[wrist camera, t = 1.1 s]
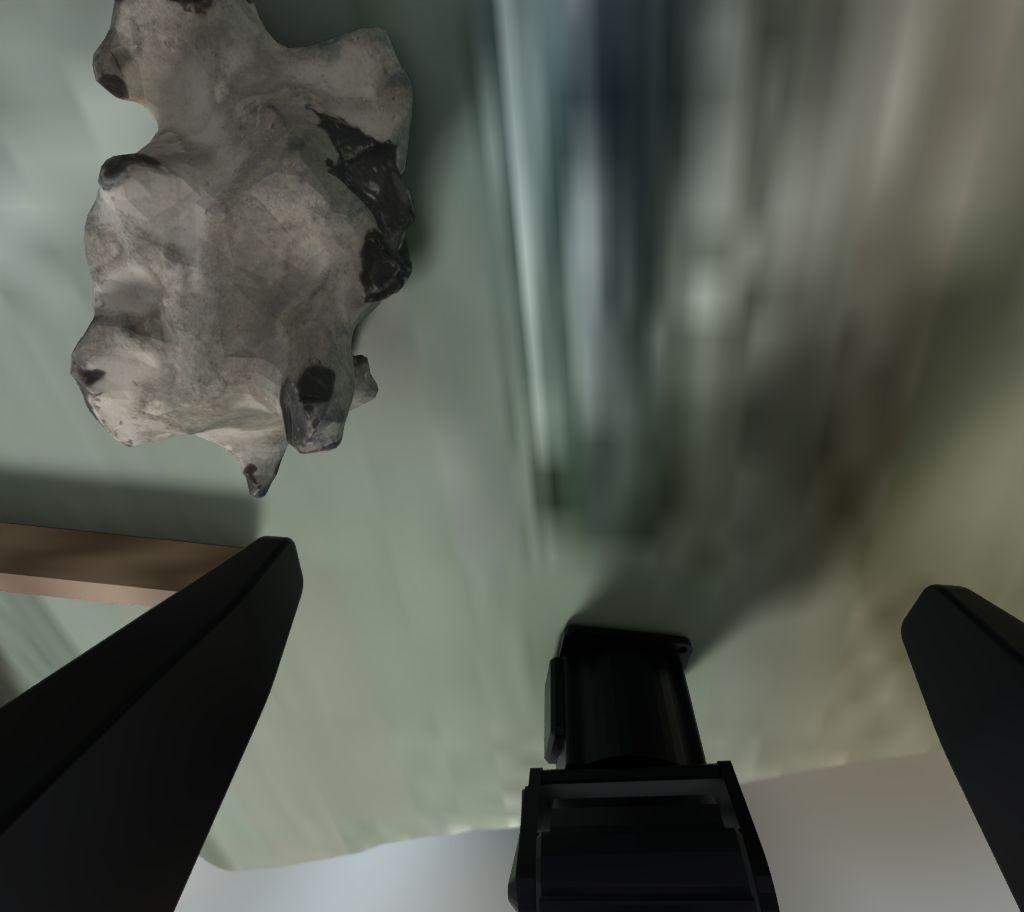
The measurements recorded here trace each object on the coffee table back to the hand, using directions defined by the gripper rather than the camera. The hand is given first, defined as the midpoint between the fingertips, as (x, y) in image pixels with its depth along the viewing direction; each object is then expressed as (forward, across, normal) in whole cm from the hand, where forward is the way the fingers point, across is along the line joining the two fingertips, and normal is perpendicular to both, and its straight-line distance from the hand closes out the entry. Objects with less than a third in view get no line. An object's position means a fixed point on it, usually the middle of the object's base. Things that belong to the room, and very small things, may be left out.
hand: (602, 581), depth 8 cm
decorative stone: (+13, +9, -1) cm, 16 cm away
